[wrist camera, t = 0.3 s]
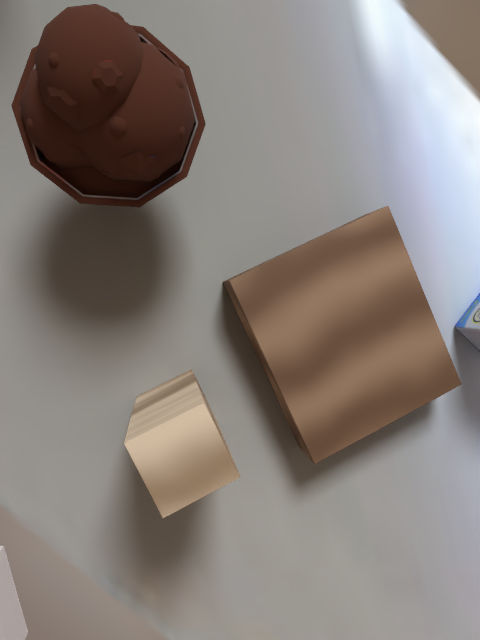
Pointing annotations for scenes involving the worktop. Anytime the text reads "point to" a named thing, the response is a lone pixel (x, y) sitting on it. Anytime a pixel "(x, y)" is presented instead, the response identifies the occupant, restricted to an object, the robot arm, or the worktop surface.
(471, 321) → the medicine box
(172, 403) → the maple block
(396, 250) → the board
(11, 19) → the worktop surface
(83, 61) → the ice cream bowl
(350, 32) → the worktop surface
